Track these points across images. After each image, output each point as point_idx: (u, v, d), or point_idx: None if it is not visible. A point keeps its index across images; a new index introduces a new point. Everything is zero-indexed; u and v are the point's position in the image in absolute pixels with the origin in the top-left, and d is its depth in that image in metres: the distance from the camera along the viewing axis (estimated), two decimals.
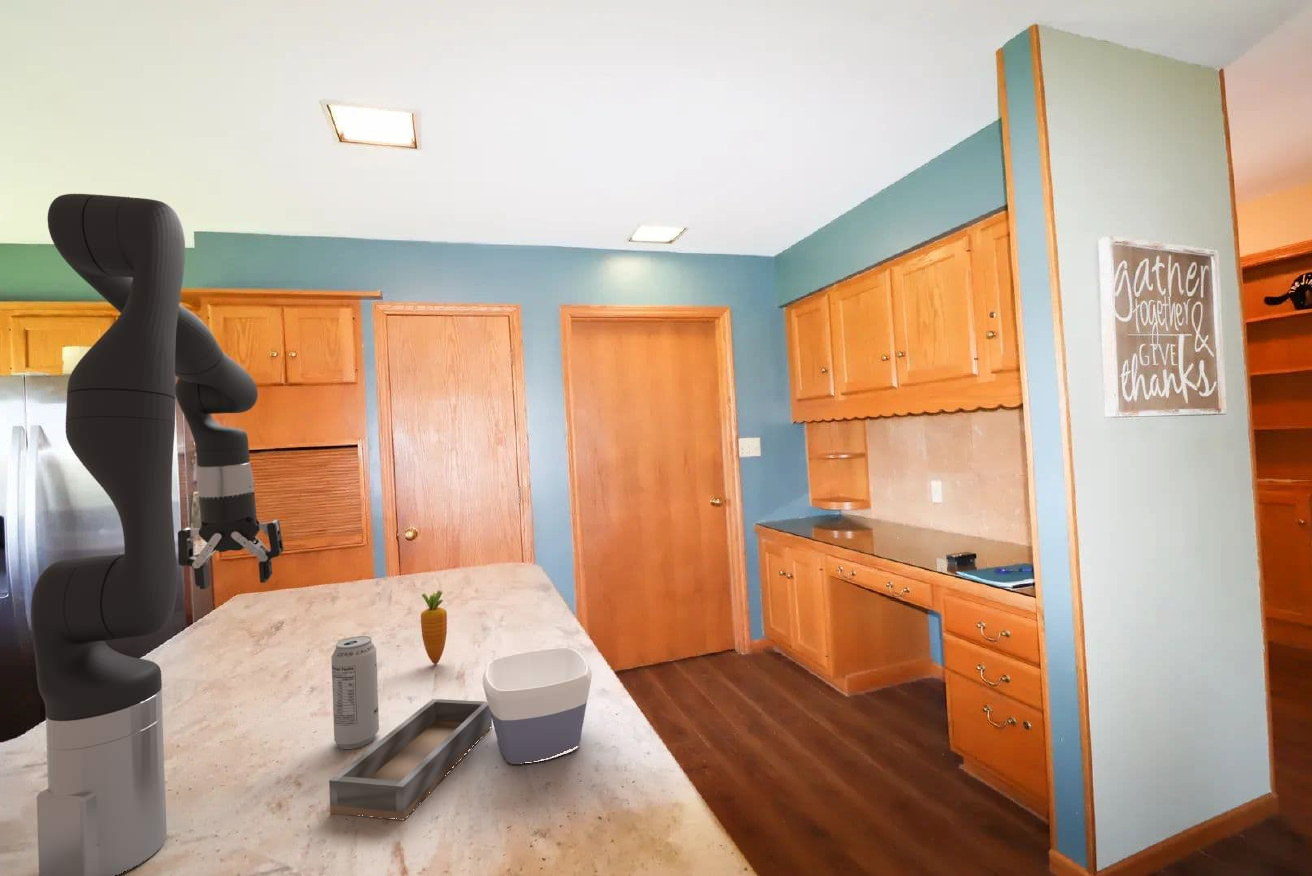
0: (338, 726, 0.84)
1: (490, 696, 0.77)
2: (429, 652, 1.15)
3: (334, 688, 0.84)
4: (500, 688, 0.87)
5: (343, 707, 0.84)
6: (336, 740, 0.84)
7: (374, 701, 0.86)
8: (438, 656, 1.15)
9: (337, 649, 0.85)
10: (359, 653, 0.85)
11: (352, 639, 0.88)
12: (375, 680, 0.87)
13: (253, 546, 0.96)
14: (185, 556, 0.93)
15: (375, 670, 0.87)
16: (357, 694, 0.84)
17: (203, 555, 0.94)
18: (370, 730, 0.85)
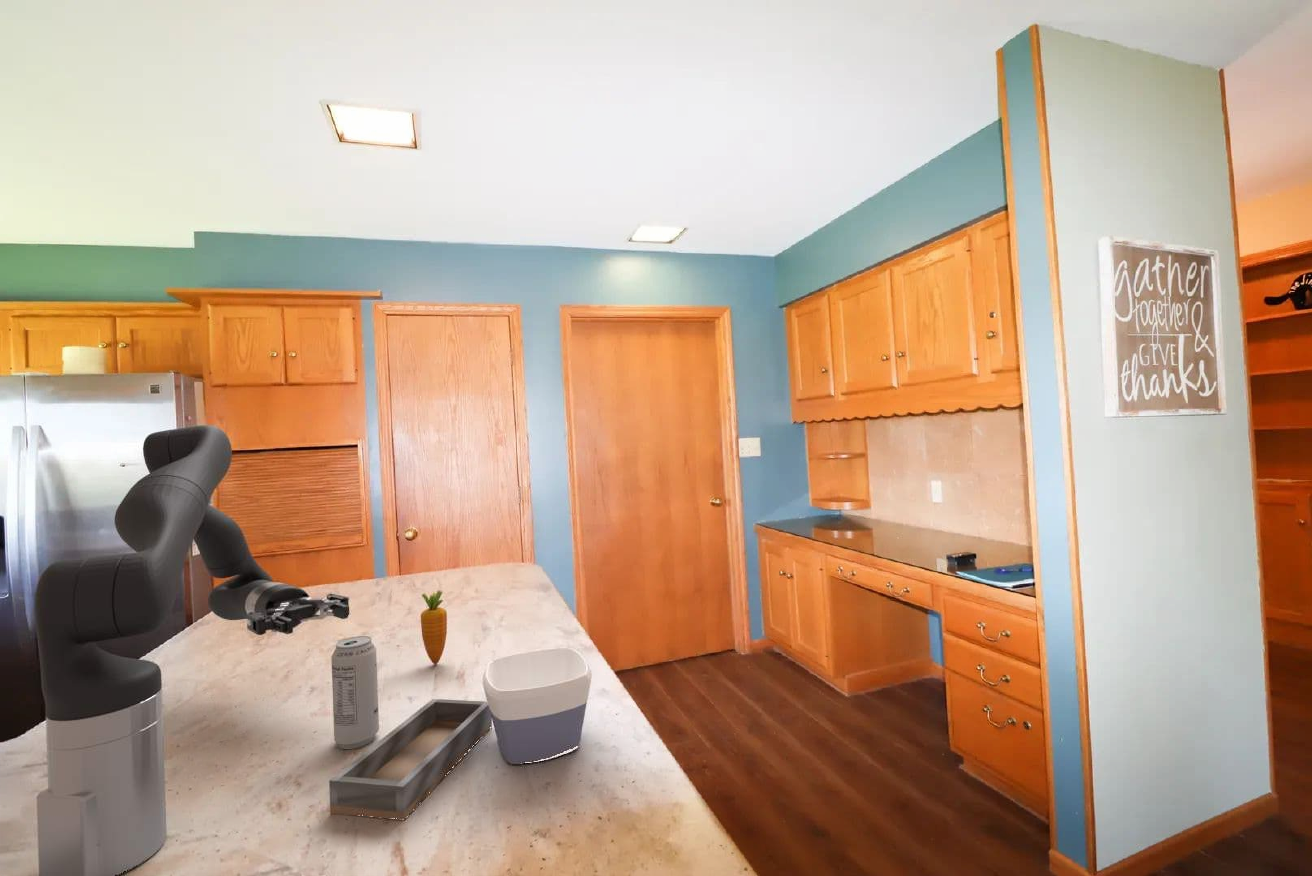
0: (338, 726, 0.84)
1: (490, 696, 0.77)
2: (429, 652, 1.15)
3: (334, 688, 0.84)
4: (500, 688, 0.87)
5: (343, 706, 0.84)
6: (336, 740, 0.84)
7: (374, 701, 0.86)
8: (438, 656, 1.15)
9: (337, 649, 0.85)
10: (359, 653, 0.85)
11: (352, 639, 0.88)
12: (375, 680, 0.87)
13: (322, 598, 1.00)
14: (261, 616, 0.92)
15: (375, 670, 0.87)
16: (357, 694, 0.84)
17: (279, 609, 0.94)
18: (370, 730, 0.85)
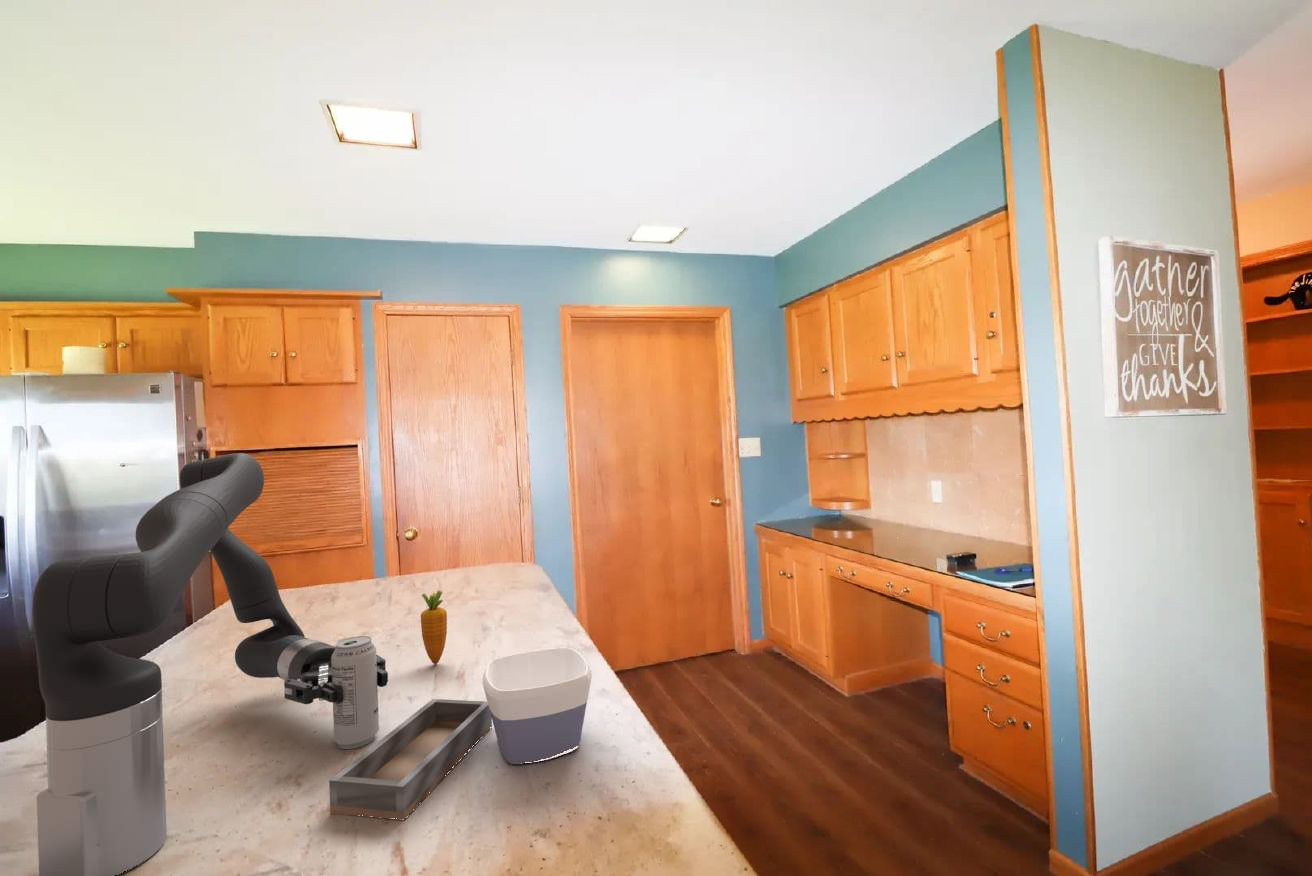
0: (337, 726, 0.84)
1: (490, 696, 0.77)
2: (429, 652, 1.15)
3: None
4: (500, 688, 0.87)
5: (343, 706, 0.84)
6: (336, 740, 0.84)
7: (373, 701, 0.86)
8: (438, 656, 1.15)
9: (337, 649, 0.85)
10: (359, 653, 0.85)
11: (352, 639, 0.88)
12: (375, 680, 0.87)
13: None
14: (306, 684, 0.84)
15: (375, 670, 0.87)
16: (357, 694, 0.84)
17: (323, 675, 0.86)
18: (370, 730, 0.85)
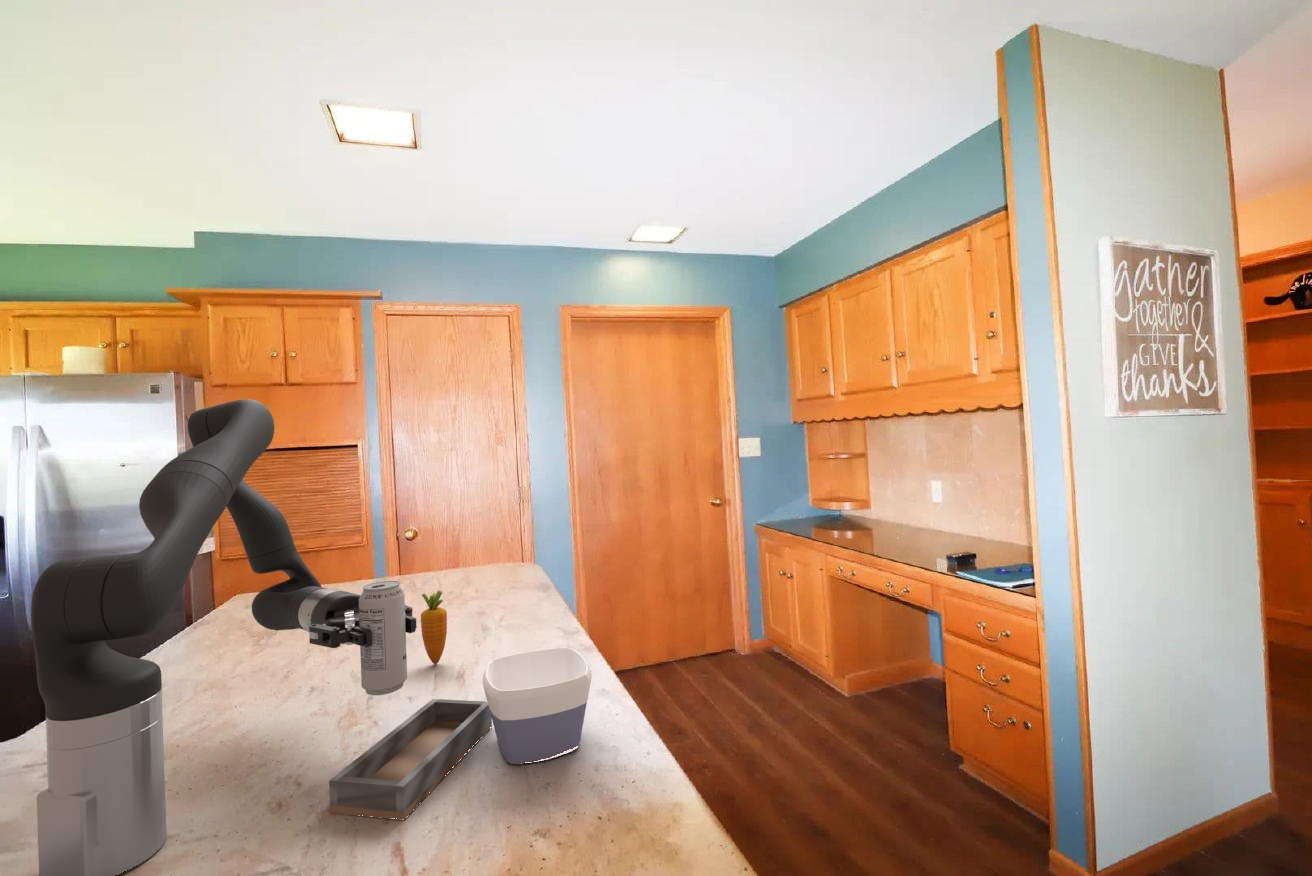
0: (366, 671, 0.80)
1: (490, 696, 0.77)
2: (429, 652, 1.15)
3: None
4: (500, 688, 0.87)
5: (371, 651, 0.80)
6: (364, 686, 0.81)
7: (402, 647, 0.83)
8: (438, 656, 1.15)
9: (365, 592, 0.81)
10: (388, 596, 0.81)
11: (379, 583, 0.84)
12: (404, 625, 0.83)
13: None
14: (333, 627, 0.81)
15: (403, 615, 0.83)
16: (386, 638, 0.81)
17: (349, 619, 0.83)
18: (399, 677, 0.82)
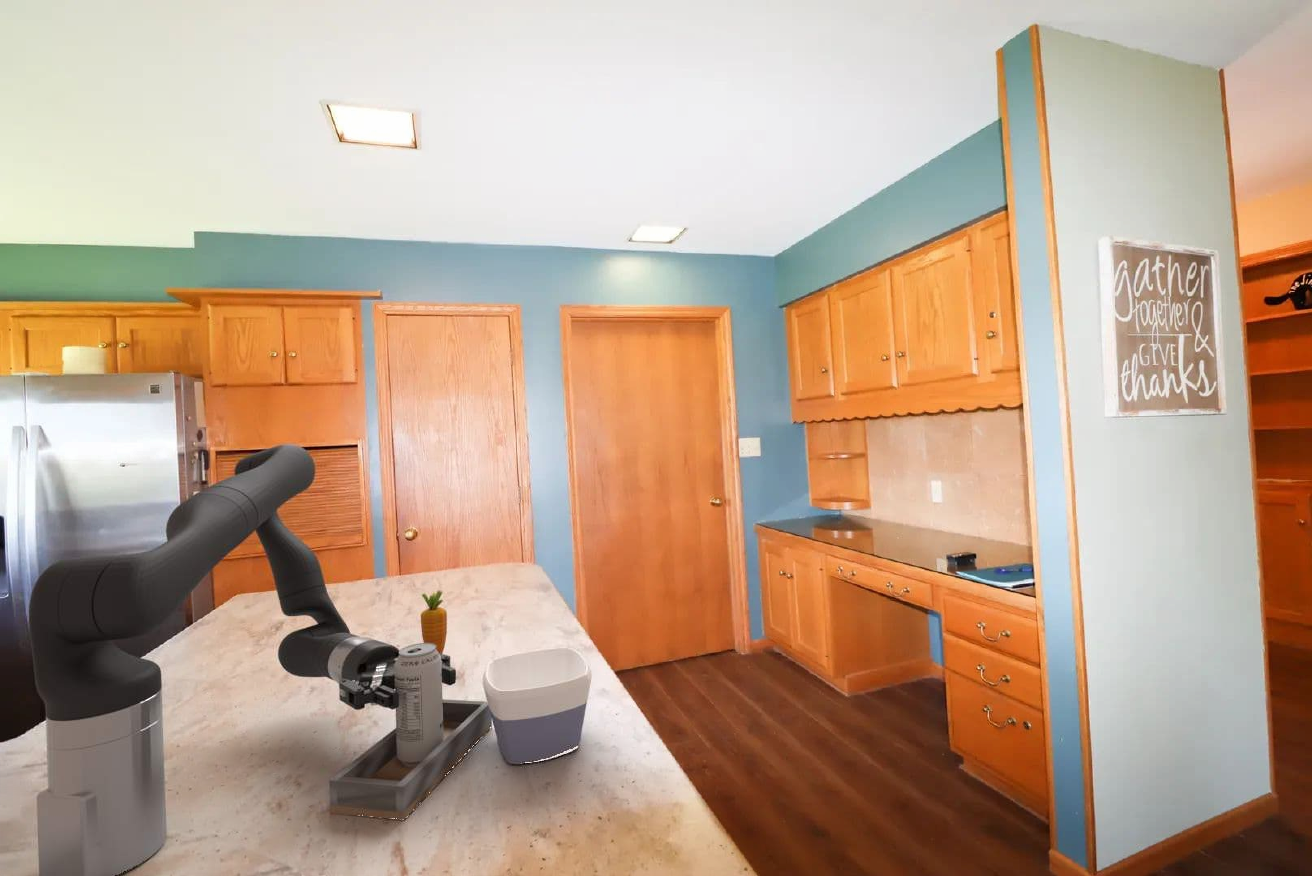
0: (402, 742, 0.77)
1: (490, 696, 0.77)
2: None
3: None
4: (500, 688, 0.87)
5: (408, 721, 0.76)
6: (400, 757, 0.77)
7: (439, 714, 0.79)
8: None
9: (401, 657, 0.77)
10: (425, 662, 0.77)
11: (415, 646, 0.81)
12: (440, 691, 0.79)
13: None
14: (358, 686, 0.77)
15: (440, 681, 0.79)
16: (423, 707, 0.77)
17: (377, 676, 0.79)
18: None
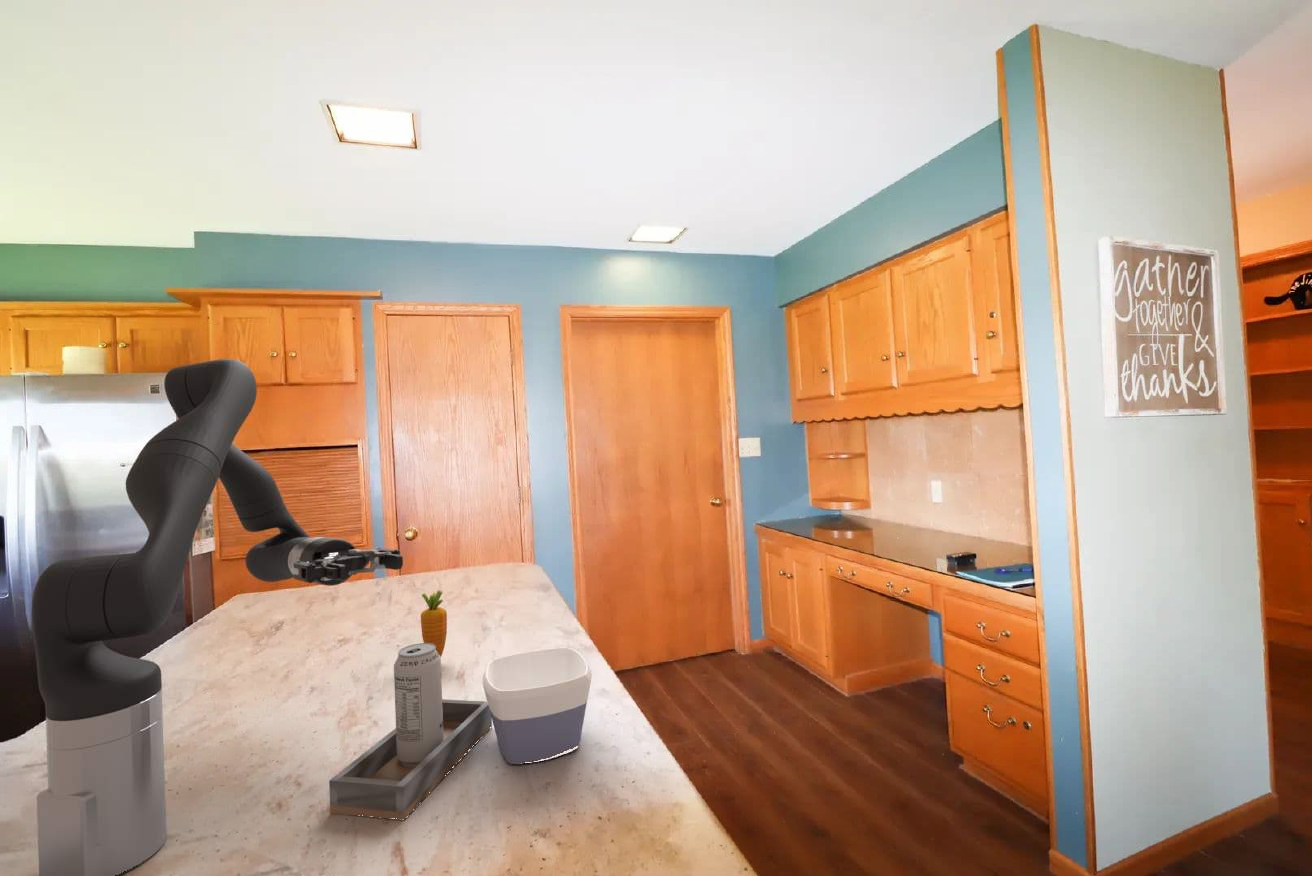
0: (402, 742, 0.77)
1: (490, 696, 0.77)
2: None
3: (397, 700, 0.77)
4: (500, 688, 0.87)
5: (407, 721, 0.76)
6: (400, 757, 0.77)
7: (439, 715, 0.79)
8: None
9: (400, 658, 0.77)
10: (425, 662, 0.77)
11: (414, 646, 0.81)
12: (440, 691, 0.79)
13: None
14: (310, 564, 0.84)
15: (440, 681, 0.79)
16: (423, 708, 0.77)
17: (328, 558, 0.86)
18: None
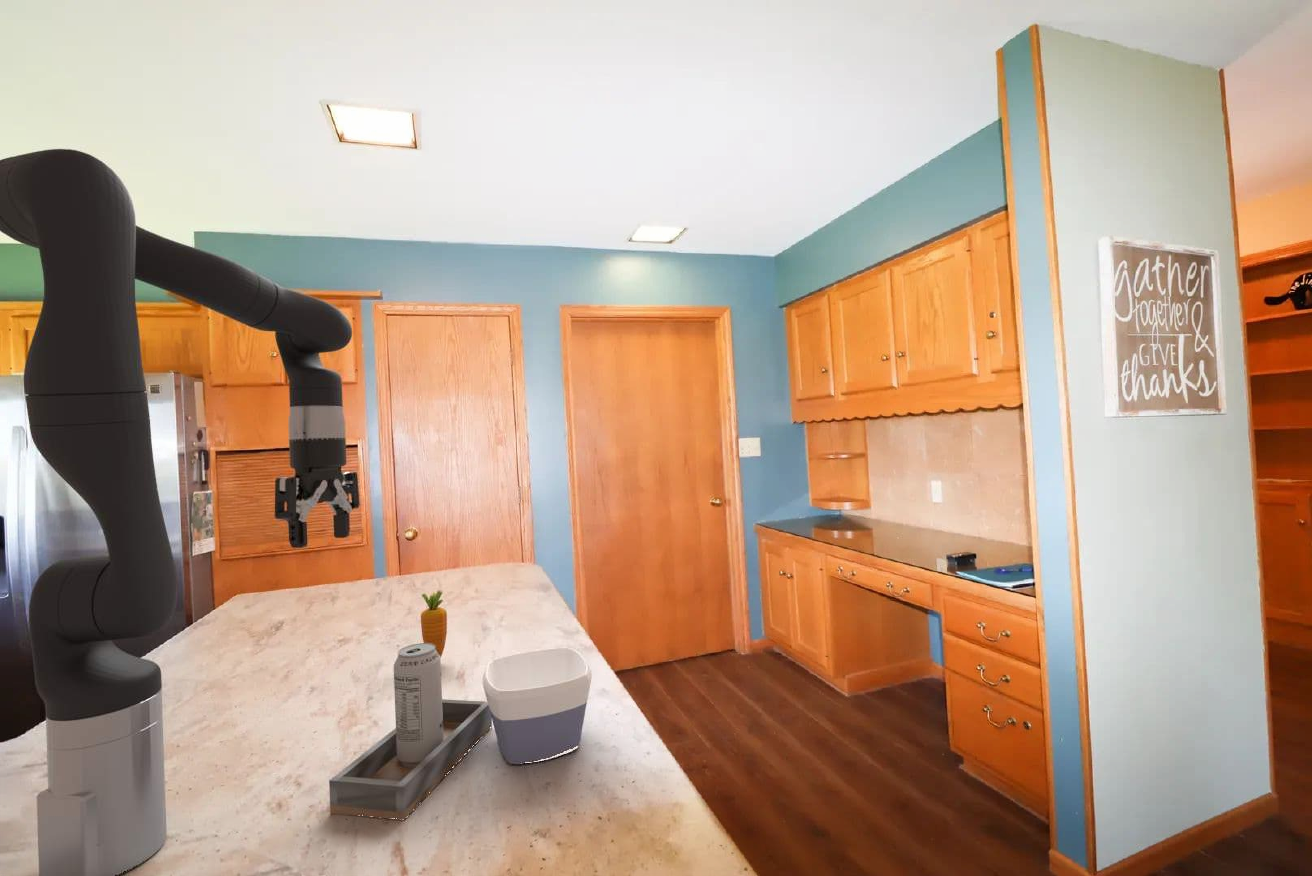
0: (401, 742, 0.77)
1: (490, 696, 0.77)
2: None
3: (397, 700, 0.77)
4: (500, 688, 0.87)
5: (407, 721, 0.76)
6: (400, 757, 0.77)
7: (439, 714, 0.79)
8: None
9: (400, 658, 0.77)
10: (425, 662, 0.77)
11: (414, 646, 0.81)
12: (440, 691, 0.79)
13: (346, 495, 0.91)
14: (294, 507, 0.82)
15: (440, 681, 0.79)
16: (423, 707, 0.77)
17: (311, 505, 0.84)
18: (435, 747, 0.78)
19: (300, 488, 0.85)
